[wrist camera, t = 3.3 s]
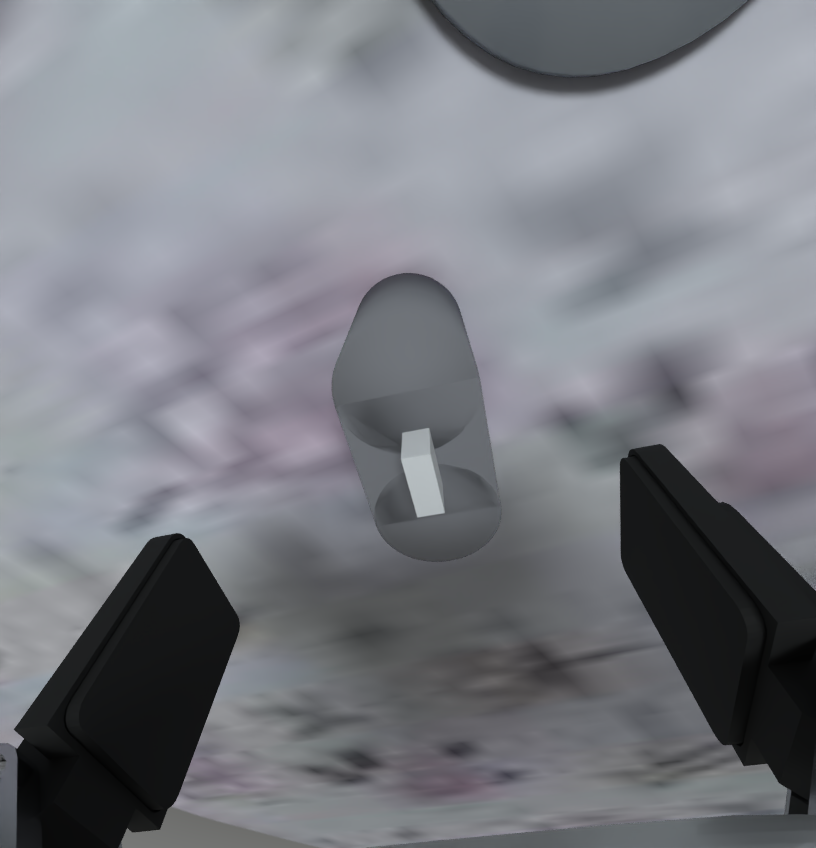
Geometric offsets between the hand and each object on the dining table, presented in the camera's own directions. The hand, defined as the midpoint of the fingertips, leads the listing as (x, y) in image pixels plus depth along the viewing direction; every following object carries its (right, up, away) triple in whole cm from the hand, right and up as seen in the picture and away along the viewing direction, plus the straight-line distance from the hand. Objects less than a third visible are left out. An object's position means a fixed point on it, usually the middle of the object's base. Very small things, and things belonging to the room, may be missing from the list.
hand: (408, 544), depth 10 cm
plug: (0, +4, +7) cm, 8 cm away
